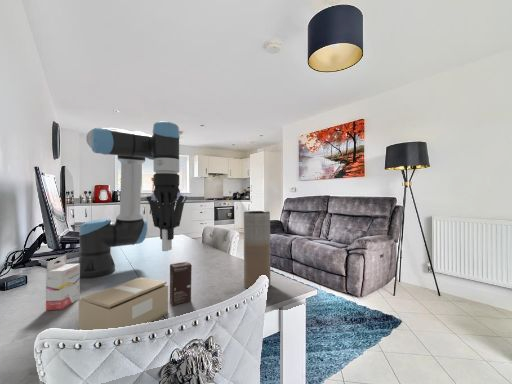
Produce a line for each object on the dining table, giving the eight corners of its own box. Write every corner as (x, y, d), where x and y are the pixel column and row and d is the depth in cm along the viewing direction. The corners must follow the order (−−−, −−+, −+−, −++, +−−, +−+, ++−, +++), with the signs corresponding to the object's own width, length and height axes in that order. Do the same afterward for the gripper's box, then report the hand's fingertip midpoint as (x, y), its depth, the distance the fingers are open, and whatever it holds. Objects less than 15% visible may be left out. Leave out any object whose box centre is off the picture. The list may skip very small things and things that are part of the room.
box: (173, 306, 75) (172, 267, 75) (169, 301, 79) (169, 263, 79) (192, 301, 79) (192, 264, 79) (187, 296, 82) (187, 261, 82)
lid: (81, 300, 61) (81, 297, 62) (140, 279, 77) (140, 276, 77) (108, 307, 56) (108, 304, 56) (166, 283, 71) (166, 281, 71)
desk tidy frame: (38, 264, 123) (38, 259, 123) (82, 255, 141) (82, 251, 141) (59, 269, 114) (59, 264, 114) (103, 259, 132) (103, 254, 132)
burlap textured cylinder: (239, 288, 89) (239, 212, 89) (250, 279, 98) (249, 210, 99) (265, 292, 85) (264, 213, 86) (273, 282, 95) (273, 211, 95)
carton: (78, 331, 62) (78, 299, 62) (138, 304, 77) (138, 278, 77) (110, 345, 56) (110, 310, 56) (168, 313, 71) (168, 285, 71)
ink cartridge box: (62, 310, 74) (62, 260, 74) (45, 310, 73) (45, 261, 73) (80, 298, 82) (80, 254, 82) (65, 298, 82) (65, 254, 82)
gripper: (140, 173, 73) (140, 251, 73) (178, 171, 70) (178, 254, 70) (156, 175, 81) (156, 246, 80) (191, 173, 77) (192, 248, 77)
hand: (166, 250), depth 75 cm, fingers closed
